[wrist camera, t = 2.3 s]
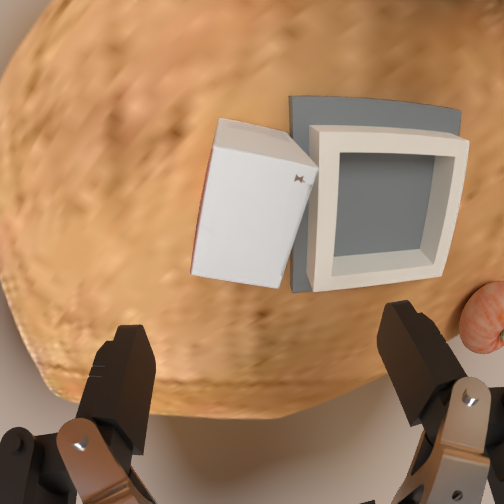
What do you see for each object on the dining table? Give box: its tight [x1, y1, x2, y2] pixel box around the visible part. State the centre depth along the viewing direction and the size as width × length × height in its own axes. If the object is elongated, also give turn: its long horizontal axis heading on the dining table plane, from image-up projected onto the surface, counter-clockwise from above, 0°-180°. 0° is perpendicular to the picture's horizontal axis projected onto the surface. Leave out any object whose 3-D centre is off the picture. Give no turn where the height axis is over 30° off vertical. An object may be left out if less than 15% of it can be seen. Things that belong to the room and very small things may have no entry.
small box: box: [190, 118, 319, 289], centre depth 22 cm, size 8×6×10 cm
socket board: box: [289, 96, 470, 293], centre depth 26 cm, size 18×16×4 cm
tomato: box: [459, 281, 504, 354], centre depth 33 cm, size 11×11×8 cm
